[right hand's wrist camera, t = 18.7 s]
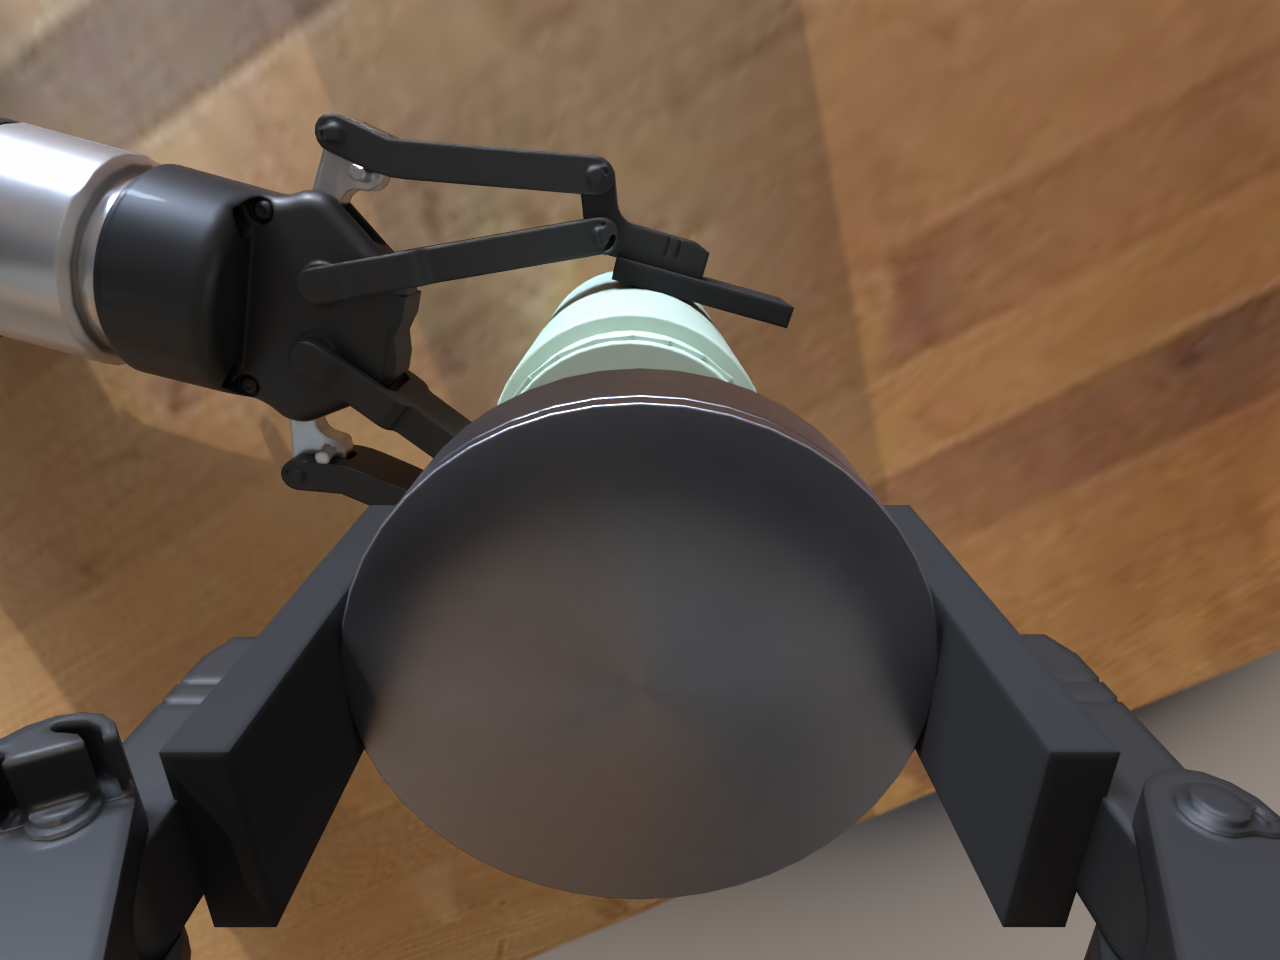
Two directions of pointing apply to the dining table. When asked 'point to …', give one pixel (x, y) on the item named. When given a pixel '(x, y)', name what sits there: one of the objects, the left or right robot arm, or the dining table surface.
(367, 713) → the lid
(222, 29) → the dining table surface
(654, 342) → the jar
